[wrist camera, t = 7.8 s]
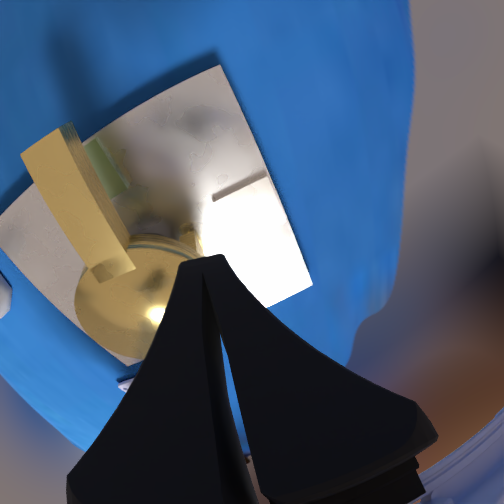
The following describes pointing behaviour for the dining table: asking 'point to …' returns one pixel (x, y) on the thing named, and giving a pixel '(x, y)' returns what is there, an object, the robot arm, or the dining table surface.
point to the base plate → (171, 195)
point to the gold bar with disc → (107, 248)
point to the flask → (4, 296)
